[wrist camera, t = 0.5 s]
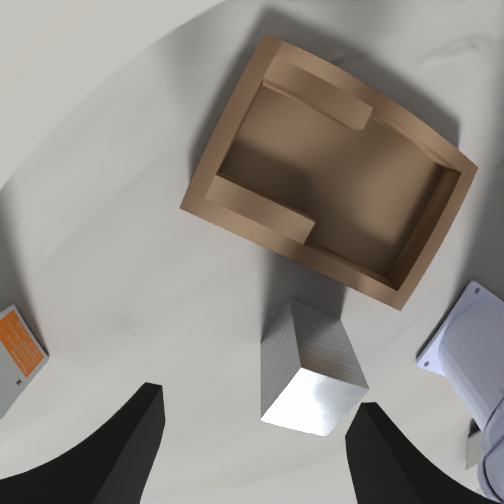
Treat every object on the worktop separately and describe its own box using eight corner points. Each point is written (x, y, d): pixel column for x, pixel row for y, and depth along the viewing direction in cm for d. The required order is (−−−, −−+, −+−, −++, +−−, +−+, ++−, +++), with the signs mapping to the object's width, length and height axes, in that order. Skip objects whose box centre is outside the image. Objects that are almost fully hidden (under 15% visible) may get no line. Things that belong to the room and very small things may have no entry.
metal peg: (340, 319, 20) (369, 389, 14) (310, 362, 22) (325, 436, 15) (288, 297, 20) (301, 367, 13) (260, 343, 21) (260, 419, 14)
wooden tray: (457, 163, 17) (478, 167, 14) (387, 293, 20) (400, 311, 17) (264, 46, 15) (265, 33, 13) (189, 200, 18) (179, 208, 16)
